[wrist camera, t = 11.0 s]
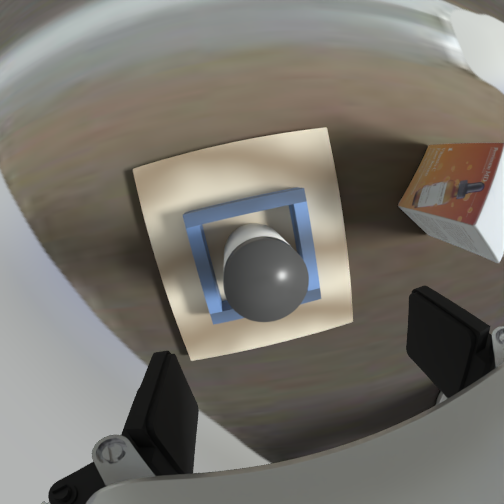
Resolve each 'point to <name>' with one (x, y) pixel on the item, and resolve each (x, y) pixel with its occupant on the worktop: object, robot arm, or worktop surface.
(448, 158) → the small box
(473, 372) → the robot arm
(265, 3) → the worktop surface
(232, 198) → the mount plate
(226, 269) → the gray domed white cylinder
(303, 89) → the worktop surface
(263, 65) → the worktop surface
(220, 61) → the worktop surface
